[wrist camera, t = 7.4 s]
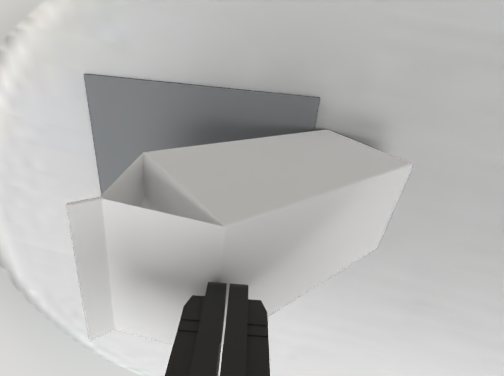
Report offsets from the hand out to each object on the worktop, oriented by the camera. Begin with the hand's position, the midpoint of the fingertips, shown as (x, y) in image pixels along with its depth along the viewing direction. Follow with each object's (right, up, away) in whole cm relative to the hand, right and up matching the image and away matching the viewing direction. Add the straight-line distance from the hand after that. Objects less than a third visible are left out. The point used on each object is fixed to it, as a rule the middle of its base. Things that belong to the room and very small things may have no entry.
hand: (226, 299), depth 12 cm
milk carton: (+9, +4, +12) cm, 15 cm away
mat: (-3, +7, +14) cm, 16 cm away
